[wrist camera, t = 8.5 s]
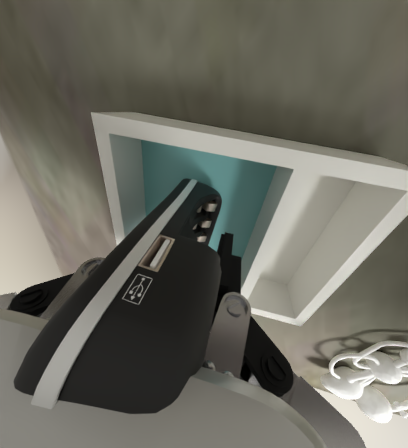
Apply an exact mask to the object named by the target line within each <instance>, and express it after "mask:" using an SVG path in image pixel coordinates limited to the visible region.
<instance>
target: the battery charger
mask: <svg viewBox="0 0 408 448" xmlns="http://www.w3.org/2000/svg"><path fill="white" fill-rule="evenodd" d="M221 205H222V198H221V195H220V194H219V192H218V191H216V190H215V189H214V188H212V187H210V186H208V185H207V184H204V183H200V182H198V180H195V179H187V178H185V179H183V180H182V181H181V182H180V183H179V184H178V185H177V186H176V187H175V188H174V190H173V191H172V192H171V193H170V194H169V195H168V196H167V197H166V198H165V199H164V200H163V201H162V202H161V203H160V204H159V205H158V206H157V207H156V208H154V209H153V210H152V211H151V212H150V213H149V214H148V215H147V216H146V217H145V218H144V219H143V220H142V221H141V222H140V223H139V224H138V225H137V226H136V227H135V228H134V229H133V230H132V231H131V232H130V233H129V234H128V235H127V236H126V237H125V238H124V239H123V240H122V241H121V242H120V243H119V244H118V245H117V246H116V248H115V249H114V250H113V251H112V252H111V253H110V254H109V255H108V256H107V257H106V258H105V259H104V260H103V261H102V262H101V263H100V264H99V266H98V267H97V268H96V269H95V270H94V271H93V272H92V273H91V274H90V275H89V276H88V277H87V278H86V279H85V281H84V282H83V283H82V284H81V285H80V286H79V287H78V288H77V289H76V290H75V291H74V292H73V293H72V295H71V296H70V297H69V298H68V299H67V300H66V301H65V302H64V304H63V305H62V306H61V307H60V308H59V309H58V311H57V312H56V313H55V314H54V315H53V317H52V318H51V319H50V320H49V321H48V322H47V324H46V325H45V326H44V328H43V329H42V331H41V332H40V334H39V335H38V337H37V338H36V339H35V341H34V342H33V344H32V345H31V347H30V348H29V350H28V351H27V353H26V355H25V357H24V360H23V362H22V364H21V366H20V368H19V370H18V372H17V374H16V376H15V378H14V381H13V382H14V387H15V389H17V390H18V391H20V392H22V393H24V394H28V395H32V396H33V398H32V401H31V405H35V406H39V407H43V408H47V409H52V408H53V407H54V406H55V404H56V402H57V400H60V401H66V402H71V403H77V404H82V405H88V406H93V407H98V408H103V409H107V410H112V411H117V412H122V413H127V414H152V413H157V412H159V411H161V410H162V409H164V408H166V407H168V406H169V405H171V404H172V403H173V402H174V401H175V400H176V399H177V398H178V397H179V395H180V393H181V392H182V390H183V388H184V387H185V385H186V383H187V381H188V380H189V378H190V376H193V375H195V374H196V373H197V371H198V370H199V369H200V368H201V367H202V366H203V361H204V357H205V352H206V348H207V343H208V339H209V334H210V330H211V325H212V320H213V315H214V311H215V306H216V301H217V295H218V290H219V285H220V279H221V273H222V271H221V267H220V257H219V255H218V253H217V252H216V251H215V250H214V249H212V248H211V247H209V246H208V245H209V242H210V239H211V236H212V233H213V230H214V227H215V224H216V221H217V218H218V216H219V213H220V209H221Z"/></svg>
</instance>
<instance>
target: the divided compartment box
mask: <svg viewBox="0 0 408 448" xmlns="http://www.w3.org/2000/svg"><path fill="white" fill-rule="evenodd" d="M91 116H92V121H93V126H94V131H95V136H96V142H97V147H98V152H99V157H100V162H101V167H102V172H103V177H104V182H105V187H106V192H107V197H108V202H109V207H110V213H111V218H112V223H113V228H114V233H115V238H116V243H117V245H118V244H119V243H120V242H121V241H122V240H123V239H124V238H125V237H126V236H127V235H128V234H129V233H130V232H131V231H132V230H133V229H134V228H135V227H136V226H137V225H138V224H139V223H140V222H141V221H142V220H143V219H144V218H145V217H146V216H147V215H148V214H149V213H150V212H151V211H152V210H153V209H154V208H156V207H157V206H158V205H159V204H160V203H161V202H162V201H163V200H164V199H165V198H166V197H167V196H168V195H169V194H170V193H171V192H172V191H173V190H174V188H175V187H176V186H177V185H178V184H179V183H180V182H181V181H182V180H183V179H185V178H187V179H195V180H198V182H200V183H204V184H207V185H208V186H210V187H212V188H214V189H215V190H216V191H218V192H219V194H220V195H221V198H222V205H221V209H220V213H219V216H218V218H217V221H216V224H215V227H214V230H213V233H212V236H211V239H210V242H209V245H208V246H209V247H211V248H212V249H214V250H215V251H216V252H217V249H218V245H219V241H220V237H221V234H225V232H227V233H231V234H234V236H233V246H232V255H235V256H239V257H241V295H243V296H244V297H245V298H246V299H247V300H248V302H249V303H250V306H251V313H252V314H256V315H260V316H264V317H267V318H271V319H275V320H279V321H283V322H286V323H290V324H294V325H298V326H302V325H303V324H304V323H305V322H306V320H307V319H308V318H309V317H310V316H311V315H312V314H313V313H314V312H315V311H316V310H317V309H318V308H319V307H320V306H321V305H322V304H323V303H324V302H325V301H326V300H327V299H328V298H329V296H330V295H331V294H332V293H333V292H334V291H335V290H336V289H337V288H338V287H339V286H340V285H341V284H342V283H343V282H344V281H345V280H346V279H347V278H348V277H349V276H350V275H351V274H352V272H353V271H354V270H355V269H356V268H357V267H358V266H359V265H360V264H361V263H362V262H363V261H364V260H365V259H366V258H367V257H368V256H369V255H370V254H371V253H372V252H373V251H374V250H375V248H376V247H377V246H378V245H379V244H380V243H381V242H382V241H383V240H384V239H385V238H386V237H387V236H388V235H389V234H390V233H391V232H392V231H393V230H394V229H395V228H396V227H397V226H398V224H399V223H400V222H401V221H402V220H403V219H404V218H405V217H406V216H407V215H408V165H404V164H401V163H398V162H395V161H392V160H389V159H386V158H383V157H380V156H374V155H369V154H363V153H358V152H352V151H346V150H341V149H335V148H330V147H324V146H319V145H313V144H308V143H302V142H297V141H291V140H286V139H280V138H275V137H269V136H263V135H258V134H252V133H247V132H241V131H236V130H230V129H225V128H219V127H214V126H208V125H203V124H197V123H192V122H186V121H180V120H175V119H169V118H164V117H158V116H153V115H147V114H142V113H136V112H91Z"/></svg>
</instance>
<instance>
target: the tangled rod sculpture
mask: <svg viewBox="0 0 408 448" xmlns="http://www.w3.org/2000/svg"><path fill="white" fill-rule="evenodd" d="M384 346H402V347H407V348H405V349H402V350H401V351H400V357H401V358H400V359H398V360H394V359H393V358H392V357H390V356H389V355H387V354H385V353H383V352H380V351H376V350H378V349H379V348H381V347H384ZM345 358H353V359H352V362H353V364H354V365H356V366H357V367H359V368H363V369H367V370H363V371H359V372H354V371H353V370H352V369H350V368H348V367H345V366H341V367H337V368H335V369H333V367H334V365H335V363H336V362H338V361H339V360H342V359H345ZM361 358H365V359H366V364H361V363H358V361H359V360H360V359H361ZM405 365H408V343H406V342H401V341H389V340H387V341H382V342H378V343H376V344H374V345H372V346H370V347H369V348H367V349H365V350H363V351H361V352H360V353H344V354H339V355H337V356H335V357H333V359H332V360H331V361H330V363H329V371H330V372H329V373H327V374H324V375H322V376H321V377H320V379H321V382H322V384H323V386H324V387H325V388H326V389H328V390H329V391H331V392H332V393H334V394H335V395H337V396H339V397H341V398H344V399H355V400H356V402H357V404H358V406H359V408H360V409H361V410H362V411H363V412H364V414H365V415H366V416H368V417H369V418H371V419H372V420H374V421H376V422H379V423H387V422H389V421H390V419H391V418H392V412H398V411H400V415H401V416H402V417H403V418H407V417H408V412H404V411H402V410H406V409H408V399H407V400H405V401H403V402H399V403H398V402H397V401H394V402H393V404H390V403H389V401H388V400H387V398H386V397H385V396H384V395H383V393H381V392H380V391H379V390H378V389H376V388H375V387H373V386H371V385H368V384H370V383H371V382H372V381H373V380H374V379H376V378H377V379H379V380H381V381H382V382H385V383H387V384H397V383H398V382H400V381H401V379H402V376H403V377H408V366H405Z"/></svg>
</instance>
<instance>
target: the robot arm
mask: <svg viewBox="0 0 408 448" xmlns="http://www.w3.org/2000/svg"><path fill="white" fill-rule="evenodd" d="M233 236H234V234H231V233H227V232H225V234H221V237H220V241H219V245H218V249H217V253H218V255H219V257H220V267H221V271H222V273H221V279H220V285H219V290H218V295H217V301H216V306H215V311H214V315H213V320H212V325H211V330H210V334H209V339H208V343H207V348H206V352H205V357H204V361H203V366H202V367H201V368H200V369H199V370H198V371H197V373H196V374H195V375H193V376H190V378H189V380H188V381H187V383H186V385H185V387H184V388H183V390H182V392H181V393H180V395H179V397H178V398H177V399H176V400H175V401H174V402H173V403H172V404H171V405H169V406H168V407H166V408H164V409H162V410H161V411H159V412H157V413H152V414H127V413H122V412H117V411H112V410H107V409H103V408H98V407H93V406H88V405H82V404H77V403H71V402H66V401H60V400H57V402H56V404H55V406H54V407H53V408H52V409H47V408H43V407H39V406H35V405H31V401H32V398H33V396H32V395H28V394H24V393H22V392H20V391H18V390H17V389H15V387H14V382H13V381H14V378H15V376H16V374H17V372H18V370H19V368H20V366H21V364H22V362H23V360H24V357H25V355H26V353H27V351H28V350H29V348H30V347H31V345H32V344H33V342H34V341H35V339H36V338H37V337H38V335H39V334H40V332H41V331H42V329H43V328H44V326H45V325H46V324H47V322H48V321H49V320H50V319H51V318H52V317H53V315H54V314H55V313H56V312H57V311H58V309H59V308H60V307H61V306H62V305H63V304H64V302H65V301H66V300H67V299H68V298H69V297H70V296H71V295H72V293H73V292H74V291H75V290H76V289H77V288H78V287H79V286H80V285H81V284H82V283H83V282H84V281H85V279H86V278H87V277H88V276H89V275H90V274H91V273H92V272H93V271H94V270H95V269H96V268H97V267H98V266H99V264H100V263H101V262H102V261H103V260H104V259H105V258H93V259H90V260H87V261H86V262H84V263H83V264H82V265H81V266H80V267H79V268H78V269H77V271H76V272H75V273H73V274H70V275H67V276H63V277H60V278H57V279H53V280H50V281H47V282H44V283H40V284H37V285H34V286H31V287H29V288H27V289H25V290H23V291H21V292H20V293H19V294H16V293H10V294H4V295H0V448H366V447H365V444H364V442H363V440H362V438H361V437H360V435H359V433H358V431H357V430H356V429H355V428H354V427H353V426H352V424H351V423H349V421H348V420H347V419H346V418H344V417H343V416H342V415H341V414H340V413H339V412H338V411H337V410H336V409H335V408H334V407H333V406H332V405H331V404H330V403H329V402H328V401H326V400H325V399H324V398H323V397H322V396H321V395H320V394H319V393H318V392H317V391H316V390H315V389H314V388H313V387H312V386H311V385H310V384H308V383H307V382H306V381H305V380H304V379H303V378H302V377H301V376H300V377H298V376H297V375H296V374H295V373H294V372H293V371H292V369H291V366H290V364H289V362H288V361H287V359H286V358H285V357H284V355H283V354H282V353H281V352H280V350H279V349H278V348H277V347H276V346H275V344H274V343H273V342H272V341H271V340H270V338H269V337H268V336H267V335H266V333H265V332H264V331H263V330H262V329H261V327H260V326H259V325H258V324H257V322H256V321H255V320H254V319H253V318H252V316H251V306H250V303H249V302H248V300H247V299H246V298H245V297H244V296H243V295H241V257H239V256H235V255H232V246H233Z"/></svg>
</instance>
